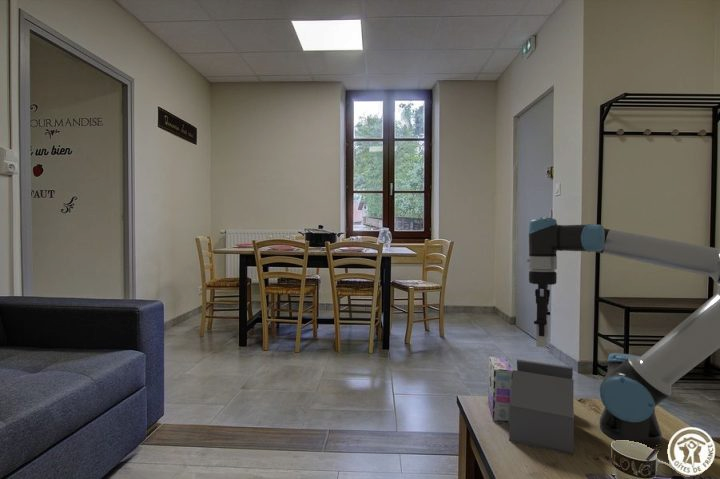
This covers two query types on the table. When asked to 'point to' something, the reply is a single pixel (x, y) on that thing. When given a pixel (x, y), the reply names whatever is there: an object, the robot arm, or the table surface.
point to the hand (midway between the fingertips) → (542, 341)
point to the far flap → (545, 369)
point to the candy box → (499, 388)
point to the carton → (541, 429)
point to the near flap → (542, 393)
